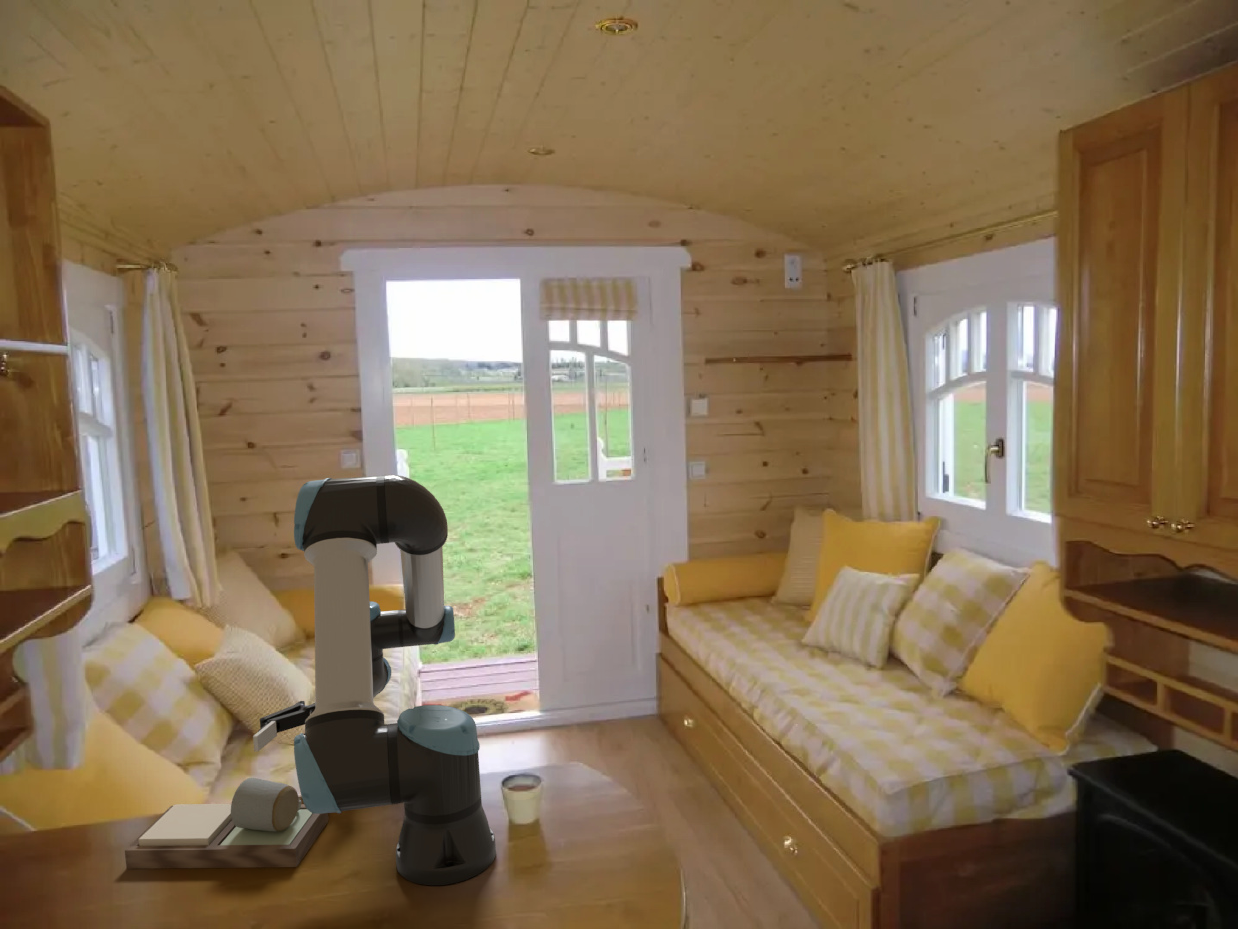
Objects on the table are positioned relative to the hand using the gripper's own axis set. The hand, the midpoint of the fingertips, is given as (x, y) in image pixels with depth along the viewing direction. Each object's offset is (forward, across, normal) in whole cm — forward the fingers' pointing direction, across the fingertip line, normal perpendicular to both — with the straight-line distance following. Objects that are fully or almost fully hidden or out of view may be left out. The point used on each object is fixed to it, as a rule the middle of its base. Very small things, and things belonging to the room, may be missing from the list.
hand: (293, 744), depth 159 cm
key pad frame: (+10, +6, -12) cm, 17 cm away
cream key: (+11, +13, -11) cm, 20 cm away
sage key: (+10, 0, -12) cm, 16 cm away
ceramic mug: (+9, 0, -10) cm, 13 cm away
